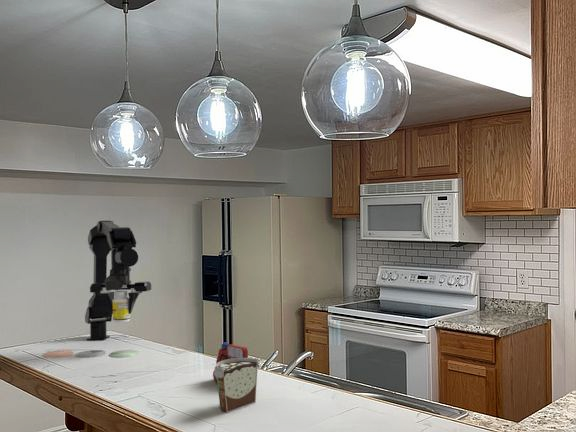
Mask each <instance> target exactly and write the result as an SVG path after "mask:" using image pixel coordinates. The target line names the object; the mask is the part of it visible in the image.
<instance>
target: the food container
mask: <svg viewBox="0 0 576 432" xmlns="http://www.w3.org/2000/svg"><path fill="white" fill-rule="evenodd" d="M258 360H259V359H258V358H252V357H247V358H234V359H227V360H223V361H220V362H218V363H217V364H215V366H214V370H213V372H214V375H215V376H216V377H217V382H218V384H217V391H218V398H219V399H218V401H219V409H220V411H221V412H223V413H226V414H228V413H232V412H234V411H237V410H239V409H242V408H245V407H248V406H250V405H253V404H256V400H257V383H258V368H260V361H258Z"/></svg>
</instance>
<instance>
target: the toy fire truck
mask: <svg viewBox="0 0 576 432" xmlns="http://www.w3.org/2000/svg"><path fill="white" fill-rule="evenodd" d="M234 358H249V351H248V347H247V346H241V345H237V344H230V343H229V342H222V344H221V348H219V350H218V353H217V357H216V360H215V361H216V362H215V363H216V364H217V363H218V362H220V361H223V360H227V359H234ZM216 364H215V365H216ZM212 377H213V381H214V382H215V383H216V384H217V385H218V382H217V377H216V376H215V375H214V371H213V372H212Z"/></svg>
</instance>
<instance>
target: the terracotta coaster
mask: <svg viewBox="0 0 576 432" xmlns="http://www.w3.org/2000/svg"><path fill="white" fill-rule="evenodd" d="M72 355H74V351H73V350H69V349H68V350H67V349H63V350H62V349H60V350H52V351H47V352H45V353H43V357H44V356H45V357H44V358H48V357H50V358H51V359H54V358H55V357H57V358H63V357H64V356H65V357H68V356H72Z"/></svg>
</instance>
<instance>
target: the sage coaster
mask: <svg viewBox="0 0 576 432" xmlns="http://www.w3.org/2000/svg"><path fill="white" fill-rule="evenodd" d="M139 353H140V351H139V350H136V349H135V350H134V349H125V350H124V349H123V350H117V351H116V350H115V351H113V352H110V354H109V357H112V358H119V359H121V358H130V357H136V356H138V355H139ZM137 354H138V355H137ZM135 355H136V356H135Z"/></svg>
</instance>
